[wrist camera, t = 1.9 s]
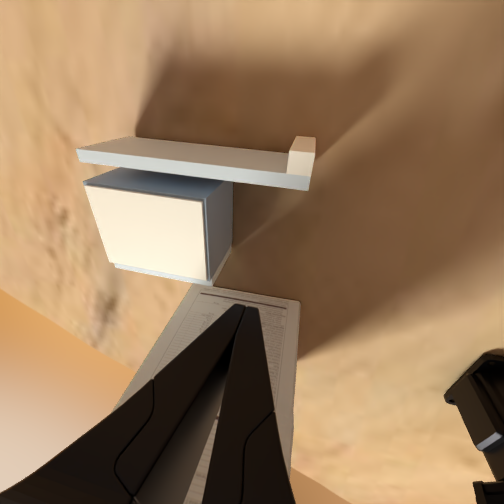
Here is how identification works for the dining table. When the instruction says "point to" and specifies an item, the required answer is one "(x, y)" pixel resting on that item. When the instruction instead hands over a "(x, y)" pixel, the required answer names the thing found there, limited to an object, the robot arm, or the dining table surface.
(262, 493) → the robot arm
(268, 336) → the supplement box
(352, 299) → the dining table surface
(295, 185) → the flap
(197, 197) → the carton
